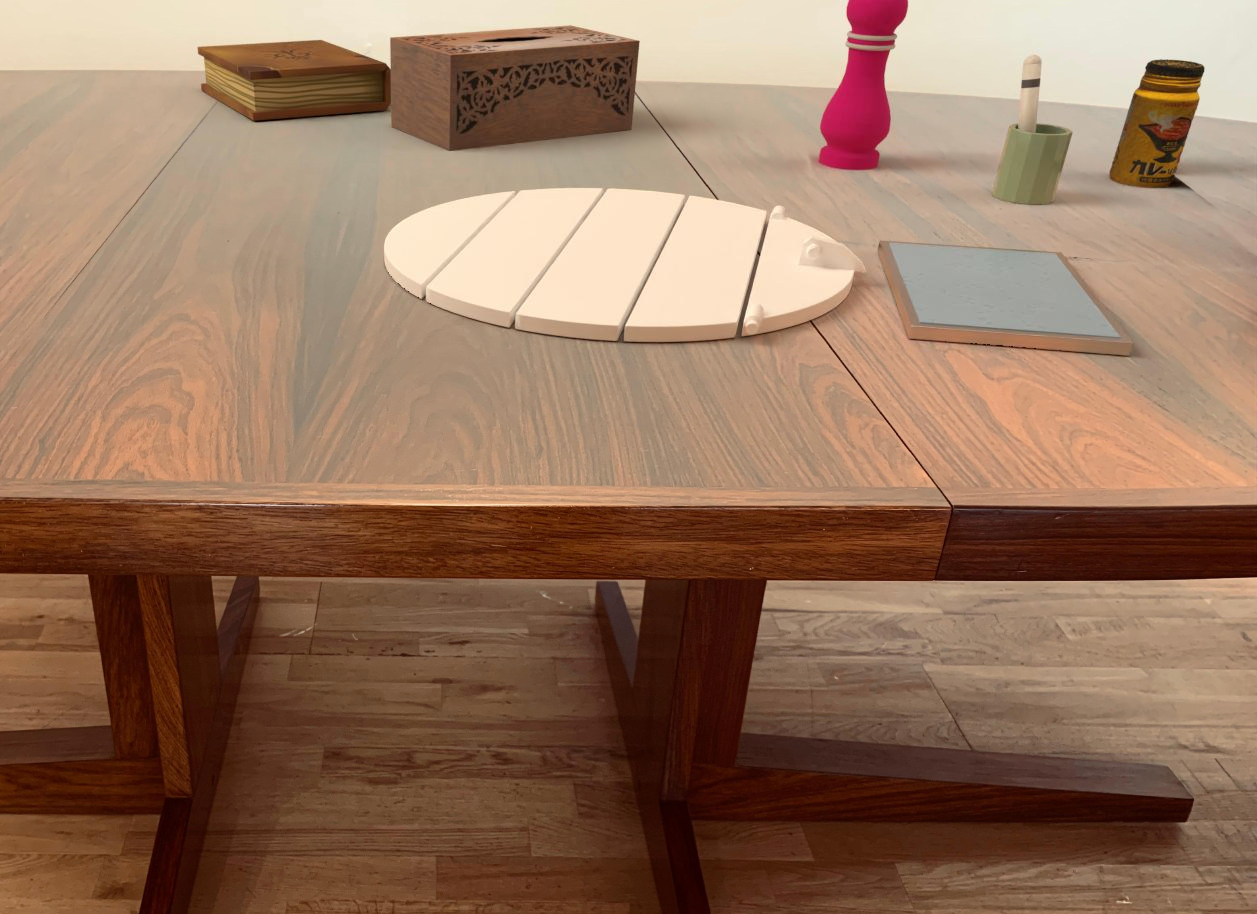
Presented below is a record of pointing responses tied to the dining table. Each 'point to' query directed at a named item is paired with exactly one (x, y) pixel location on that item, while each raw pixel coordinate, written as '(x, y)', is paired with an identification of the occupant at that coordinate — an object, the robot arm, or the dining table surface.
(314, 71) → the diary
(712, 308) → the round wooden slat board
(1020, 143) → the pen pot
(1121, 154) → the condiment
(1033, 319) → the tablet
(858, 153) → the pepper mill
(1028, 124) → the stylus
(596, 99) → the tissue box cover
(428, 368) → the dining table surface
